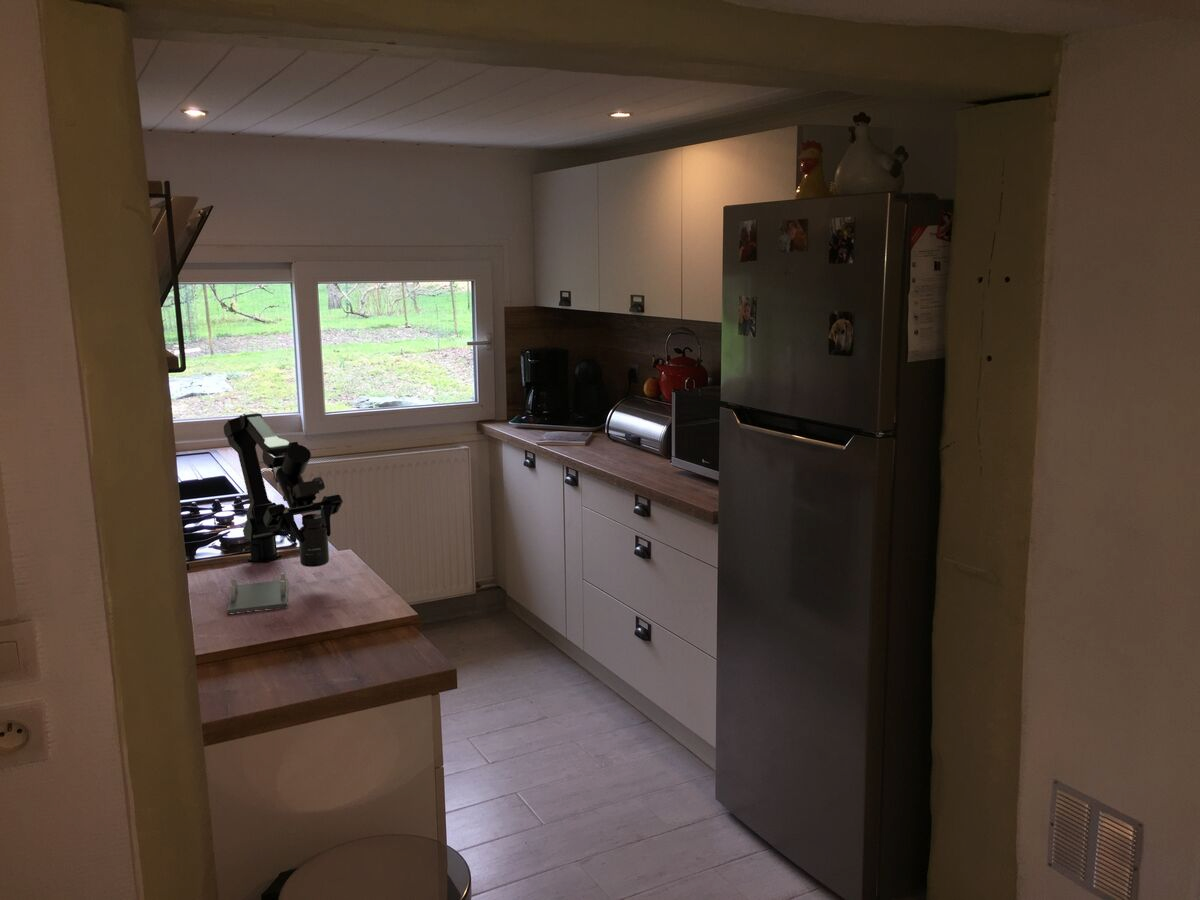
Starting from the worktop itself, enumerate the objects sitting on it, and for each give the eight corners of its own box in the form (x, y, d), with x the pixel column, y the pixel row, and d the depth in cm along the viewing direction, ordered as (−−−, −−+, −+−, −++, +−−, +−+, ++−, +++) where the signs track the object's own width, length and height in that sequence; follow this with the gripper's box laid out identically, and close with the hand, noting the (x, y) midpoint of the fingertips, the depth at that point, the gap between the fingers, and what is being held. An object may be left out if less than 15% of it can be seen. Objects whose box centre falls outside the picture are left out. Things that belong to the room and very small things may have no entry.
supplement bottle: (312, 569, 233) (308, 521, 231) (294, 564, 237) (290, 517, 235) (335, 562, 238) (331, 515, 236) (318, 557, 242) (314, 510, 240)
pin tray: (233, 590, 239) (231, 571, 238) (288, 583, 242) (286, 565, 241) (227, 614, 222) (225, 595, 221) (287, 608, 225) (285, 588, 224)
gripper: (263, 474, 230) (286, 528, 224) (336, 462, 242) (360, 513, 236) (253, 500, 237) (275, 553, 231) (325, 487, 249) (347, 537, 243)
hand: (315, 538), depth 235 cm, fingers closed on supplement bottle, 7 cm apart
